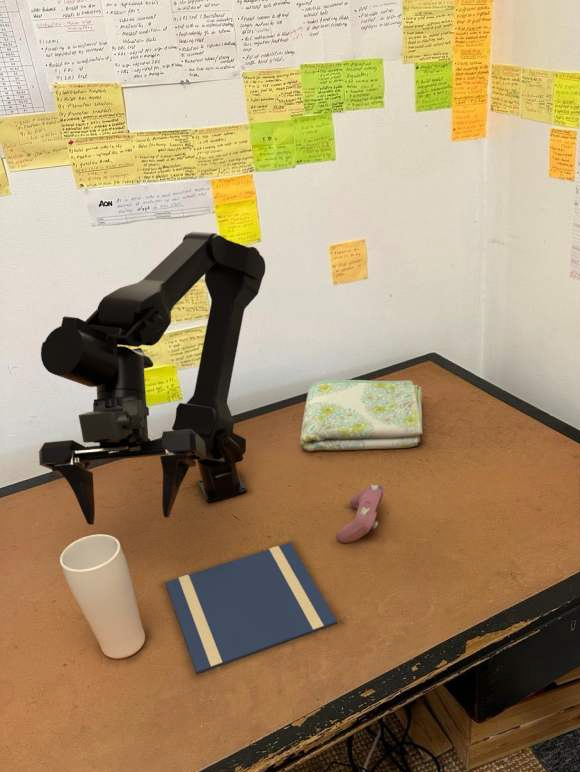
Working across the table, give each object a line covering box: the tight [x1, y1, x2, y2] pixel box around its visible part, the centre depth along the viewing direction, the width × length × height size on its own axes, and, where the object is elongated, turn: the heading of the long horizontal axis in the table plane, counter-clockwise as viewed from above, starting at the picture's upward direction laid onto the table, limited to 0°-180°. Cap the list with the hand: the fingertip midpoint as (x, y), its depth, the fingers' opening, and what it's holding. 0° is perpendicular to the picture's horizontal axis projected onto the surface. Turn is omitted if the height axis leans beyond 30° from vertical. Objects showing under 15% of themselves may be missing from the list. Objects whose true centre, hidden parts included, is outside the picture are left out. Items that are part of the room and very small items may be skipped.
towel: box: [299, 379, 423, 452], centre depth 132 cm, size 18×21×5 cm
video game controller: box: [336, 483, 386, 544], centre depth 108 cm, size 10×5×7 cm, turn 168°
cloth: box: [165, 542, 338, 675], centre depth 98 cm, size 18×18×1 cm
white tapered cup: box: [59, 533, 146, 660], centre depth 88 cm, size 7×7×15 cm
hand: (128, 520), depth 91 cm, fingers open, 9 cm apart
